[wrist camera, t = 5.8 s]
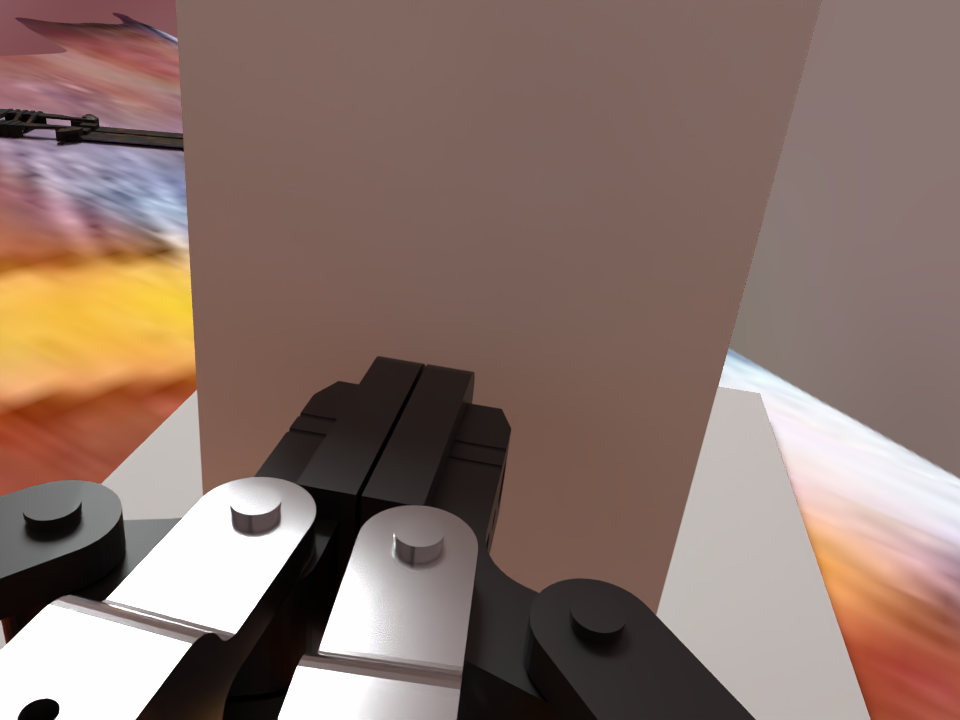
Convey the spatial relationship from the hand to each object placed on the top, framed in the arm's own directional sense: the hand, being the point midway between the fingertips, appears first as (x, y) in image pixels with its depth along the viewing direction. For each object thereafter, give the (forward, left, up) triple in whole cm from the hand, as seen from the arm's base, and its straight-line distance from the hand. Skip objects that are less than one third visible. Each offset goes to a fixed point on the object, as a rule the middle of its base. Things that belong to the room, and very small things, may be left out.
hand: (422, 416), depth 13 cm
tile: (0, +3, -8) cm, 8 cm away
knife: (-33, +47, -9) cm, 58 cm away
